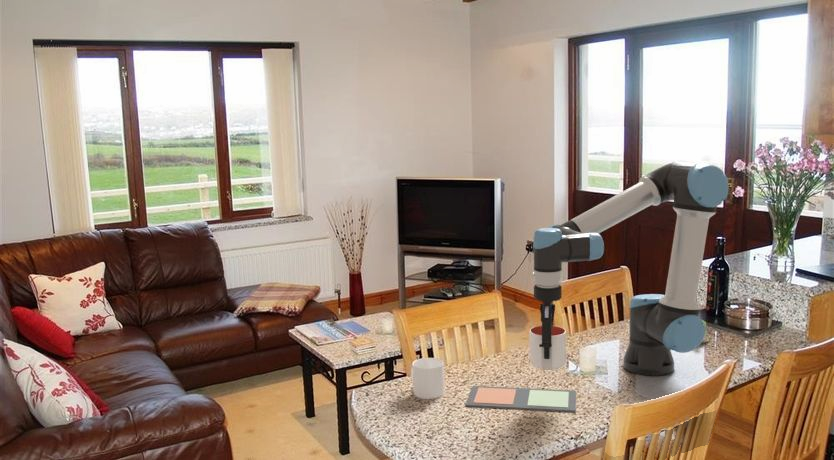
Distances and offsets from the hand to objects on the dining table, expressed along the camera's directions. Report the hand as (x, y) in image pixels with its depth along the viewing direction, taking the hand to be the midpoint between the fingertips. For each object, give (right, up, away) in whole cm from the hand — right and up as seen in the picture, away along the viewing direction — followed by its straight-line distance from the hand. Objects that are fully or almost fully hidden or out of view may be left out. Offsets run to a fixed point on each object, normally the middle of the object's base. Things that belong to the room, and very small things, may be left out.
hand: (547, 362), depth 203 cm
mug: (-34, -11, +12) cm, 37 cm away
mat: (-7, -11, +4) cm, 13 cm away
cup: (0, -1, 0) cm, 1 cm away
